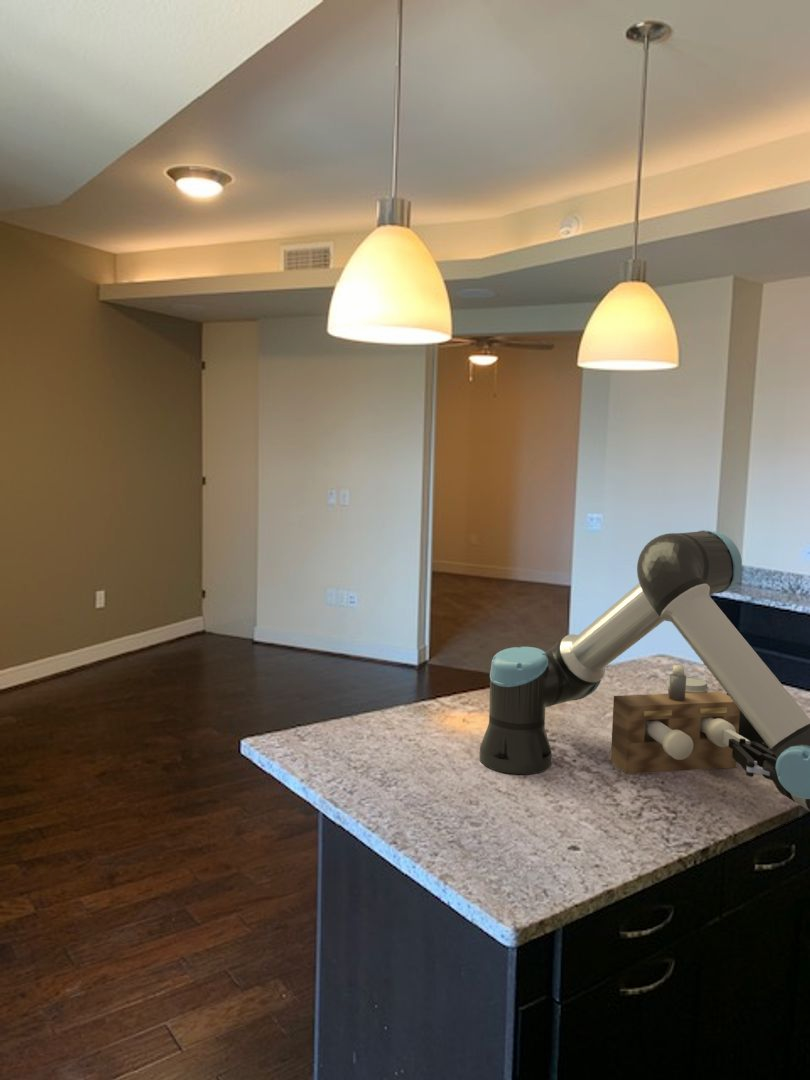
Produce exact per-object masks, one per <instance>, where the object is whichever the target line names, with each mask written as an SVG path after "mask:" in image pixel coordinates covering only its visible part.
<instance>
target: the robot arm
mask: <svg viewBox="0 0 810 1080" xmlns="http://www.w3.org/2000/svg"><path fill="white" fill-rule="evenodd" d="M742 563H743V560H742V556H741V553H740V550H739V548H738V547H737V544H736V543H735V542H734V541H733V540H732V539H731V538H730V537H729V536H727V535H726V534H724V533H721V532H719V531H715V530H714V531H713V530H707V529H706V530H705V529H703V530H699V531H689V532H679V533H678V532H676V533H675V532H672V533H665V534H660V535H658V536H656V537H654V538H652V539H651V540H650V541H649V542H647V544H645V545H644V547H643V549H642V550H641V552H640V554H639V556H638V560H637V565H636V566H637V567H636V573H637V579H638V583H637V584H636V585H635V586H634V587H632V588H631V590H629V591H628V592H627V593H625V594H624V595H623V596H622V597H621V598H619V600H617V601H616V602H615V603H614V604H613V605H611V607H609V608H608V609H607V610H605V611H604V612H603V613H602V614H601V615H599V617H597V618H596V619H595V620H594V621H593V622H592V623H590V624H589V625H588V626H587V627H585V628H584V629H583V630H582V631H580V633H579V634H574V633H573V634H572V633H571V634H567V635H566V636H564V637H563V638H562V639H560V640H559V641H558V642H557V643H556V644H555V645H554V646H552V647H550V648H549V649H547V650H543V649H541V648H538V647H533V646H520V647H517V646H513V647H509V648H508V647H507V648H504V649H503V650H502V649H501V650H500V651H498V652H497V653H496V654H494V656H493V657H492V660H491V664H490V671H489V709H488V710H489V711H488V712H489V715H488V718H489V719H488V724H487V728H486V730H485V733H484V736H483V738H482V740H481V743H480V746H479V761H480V763H481V764H483V765H484V766H485V767H487V768H488V769H492V770H494V771H498V772H502V773H506V774H514V775H515V774H516V775H529V774H530V775H531V774H537V773H540V772H541V773H542V772H544V771H547V770H548V769H549V768H551V766H552V760H553V759H552V758H553V753H552V749H551V746H550V741H549V738H548V735H547V731H546V726H545V725H546V708H548V707H551V706H555V705H559V704H563V703H567V702H571V701H577V700H581V699H584V698H586V697H587V696H590V695H591V694H592V693H594V692H596V690H597V689H598V687H599V686H600V684H601V681H602V679H603V677H604V676H605V673H606V667H607V666H608V665H610V664H611V663H612V662H613V661H614V660H616V659H617V658H618V657H620V656H621V655H622V654H623V653H625V652H626V651H628V650H629V649H630V648H631V647H633V645H635V644H636V643H638V642H639V641H640V640H642V639H643V638H644V637H646V636H647V635H648V634H649V633H650V632H652V631H654V629H656V628H657V627H658V626H659V625H660V624H662V623H663V622H671V623H672V624H673V626H674V627H675V629H676V630H677V631H678V632H679V634H680V635H681V636H682V637H683V639H684V640H685V641H686V642H687V643H688V645H689V646H690V648H691V649H692V650H693V652H694V653H695V654H696V655H697V657H698V658H699V660H700V661H702V663H703V665H704V666H705V667H706V668H707V669H708V671H709V672H710V673H711V675H712V676H713V677H714V678H715V680H716V681H717V683H718V684H719V685H720V686H721V687H722V689H723V690H724V691H725V692H726V694H728V695H729V696H730V698H731V699H732V700H733V701H734V703H735V704H736V705H737V707H738V708H739V709H740V710H741V712H742V713H743V714H744V716H745V717H746V718H747V719H748V721H749V722H750V723H751V725H752V726H753V727H754V728H755V730H756V731H757V732H758V733H759V735H760V736H761V737H762V739H763V740H764V741H765V742H762V745H761V744H759V743H757V742H751V741H750V740H748V739H746V738H744V737H743V736H741V735H739V734H737V733H736V732H734V731H732V730H730V729H727V730H723V743H724V744H726V745H727V746H729V747H730V748H732V749H733V751H732V757H733V758H734V759H735V760H736V761H737V762H736V764H739V766H740V767H741V768H742V769H743V770H744V771H745V775H746V776H747V777H751V778H753V777H754V775H762V776H763V777H764V779H768V780H770V781H772V782H773V784H774V786H775V787H776V789H777V790H778V792H779V793H780V794H781V795H783V796H785V797H786V798H787V799H789V800H791V801H792V802H794V803H795V804H797V805H799V806H800V807H802V808H804V809H806V810H807V811H809V812H810V716H808V715H807V713H806V712H805V710H803V709H802V707H801V706H800V705H799V704H798V703H797V701H796V699H794V697H793V696H792V695H791V694H790V693H789V691H788V690H787V689H786V688H785V687H784V685H783V684H782V683H781V681H779V679H778V678H777V677H776V675H775V674H774V673H773V672H772V671H771V669H770V668H769V667H768V665H767V664H766V663H765V662H764V661H763V659H762V658H761V657H760V656H759V655H758V653H757V652H756V651H755V650H754V649H753V647H752V646H751V645H750V644H749V642H748V641H747V640H746V639H745V638H744V637H743V634H741V633H740V631H738V629H737V628H736V627H735V625H734V624H733V623H732V622H731V620H730V619H729V618H728V617H727V615H726V614H725V613H724V612H723V610H722V609H721V608H720V606H718V605H717V603H716V602H715V601H714V599H712V597H711V596H712V595H714V594H721V593H724V592H726V591H727V590H729V589H731V588H732V587H734V586H735V585H736V584H737V583H738V581H739V579H740V577H741V574H742V566H743V565H742Z"/></svg>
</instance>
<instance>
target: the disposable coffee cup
mask: <svg viewBox="0 0 810 1080" xmlns="http://www.w3.org/2000/svg"><path fill="white" fill-rule="evenodd" d="M665 684H666V687H667V691H668V693H667V694H669V687H670V677H669V678H668V680H667V681H666V683H665ZM709 690H710V689H709V686H708V682H707V681H706V680H704V679H703V678H702V679H701V678H698V677H695V676H688V675H686V691H685V693H700V692H709Z"/></svg>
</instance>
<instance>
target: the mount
mask: <svg viewBox="0 0 810 1080" xmlns="http://www.w3.org/2000/svg"><path fill="white" fill-rule="evenodd" d="M612 708H613V710H612V725H611V744H610V745H611V747H610V762H611V763H613V764H614V766H616V767H617V768H618V769H619V770H620V771H622V772H623V773H624V774H625V775H633V774H652V773H653V774H654V773H666V772H681V771H683V772H684V771H686V772H687V771H700V770H701V771H703V770H714V769H715V770H718V769H733V768H737V761H736V760H735V759H734V758H733V757H732V751H733V749H732V748H730V747H729V746H727V747H719V746H717V745H716V744H714V743H712V742H711V741H710V740H709V739H708V738H707V736H706V734H705V733H704V732H702V731H700V728H701V717H712V718H714V719H717V718H720V719H723V720H725V721H727V722H729V723H731V724H732V725H733V726H734V728H735V730H736V733H737V734H738V733H739V718H740V709H739V708H738V707H737V705H736V704H735V703H734V701H733V700H732V699H731V698H730V696H729V695H727V693H724V692H722V691H707V692H700V693H685V700H684V701H674V700H671V699H669V694H668V693H653V694H631V695H630V694H629V695H628V694H627V695H626V694H625V695H624V694H623V695H614V696H613V707H612ZM655 719H656V720H658V721H659V722H661V723H663V724H664V725H666V726H667V727H669V728H670V729H672V730H680V731H682V732H684V733H685V734H687V735H688V736H690V737H691V739H692V741H693V750H692V753H691V754H690V755H689V756H688V757H687V758H685V759H683V760H677V759H674V758H673V757H671V756H670V755H669V754H667V753H666V752H665V751H664V749H663V746H662V744H660V743H659V742H657V741H656V740H655V739H653V738H652V737H650V736H649V735H648V734H646V733H645V720H655Z"/></svg>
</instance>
